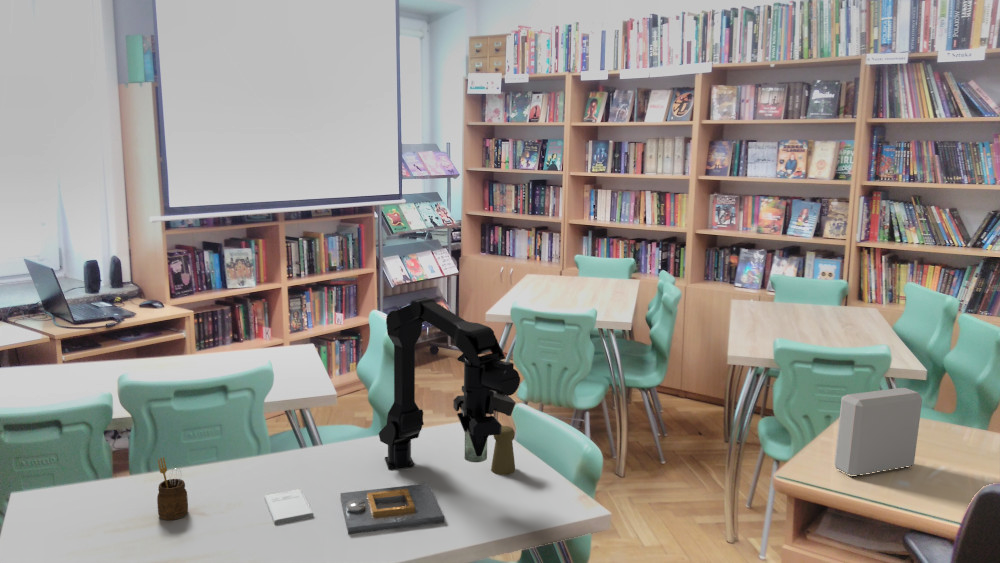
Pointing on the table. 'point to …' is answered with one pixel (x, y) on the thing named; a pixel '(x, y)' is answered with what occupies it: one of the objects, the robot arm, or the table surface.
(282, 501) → the external hard drive
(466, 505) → the table surface
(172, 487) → the utensil holder
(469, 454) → the can
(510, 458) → the cork
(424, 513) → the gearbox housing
